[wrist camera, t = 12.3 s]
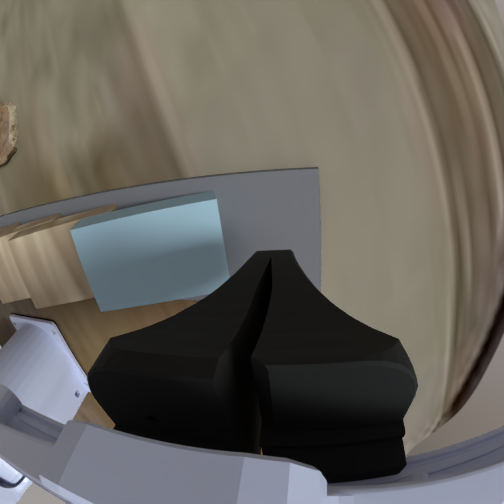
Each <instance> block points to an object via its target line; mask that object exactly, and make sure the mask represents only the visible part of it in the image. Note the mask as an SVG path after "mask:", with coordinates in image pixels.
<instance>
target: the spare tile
mask: <svg viewBox="0 0 504 504" xmlns="http://www.w3.org/2000/svg"><path fill="white" fill-rule="evenodd" d="M70 232H71V235H72V238H73V241H74V244H75V247H76V250H77V253H78V256H79V259H80V261H81V264H82V267H83V269H84V272H85V275H86V277H87V280H88V282H89V285H90V287H91V290H92V292H93V294H94V297H95V299H96V302H97V304H98V306H99V308H100V311H101V312H104V311H111V310H117V309H124V308H130V307H136V306H143V305H149V304H155V303H161V302H167V301H172V300H178V299H184V298H190V297H195V296H201V295H206V294H211V293H212V292H213V291H215V290H216V289H217V288H219V287H220V286H221V285H222V284H223V283H224V282H226V281H227V280H228V279H229V278H230V276H229V270H228V265H227V259H226V253H225V247H224V241H223V235H222V229H221V223H220V217H219V210H218V204H217V198H216V195H215V191H209V192H203V193H198V194H193V195H187V196H182V197H177V198H172V199H167V200H162V201H157V202H152V203H148V204H143V205H138V206H134V207H129V208H125V209H121V210H116V211H112V212H108V213H104V214H100V215H96V216H92V217H88V218H84V219H81V220H80V221H79V222H78V223H77V224H76V225H75V226H74V227H73V228H72V229H71V230H70Z"/></svg>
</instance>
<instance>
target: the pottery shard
mask: <svg viewBox="0 0 504 504" xmlns="http://www.w3.org/2000/svg"><path fill="white" fill-rule="evenodd" d="M17 144H18V118H17V115H16V106H15V105H14V104H13V103H11V102H1V101H0V166H1V165H4V164H5V163H6V162H7V161H8V159H9V158H10V157H11V156H12V155H13V154H14V153H15V152H16V151H17Z"/></svg>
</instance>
